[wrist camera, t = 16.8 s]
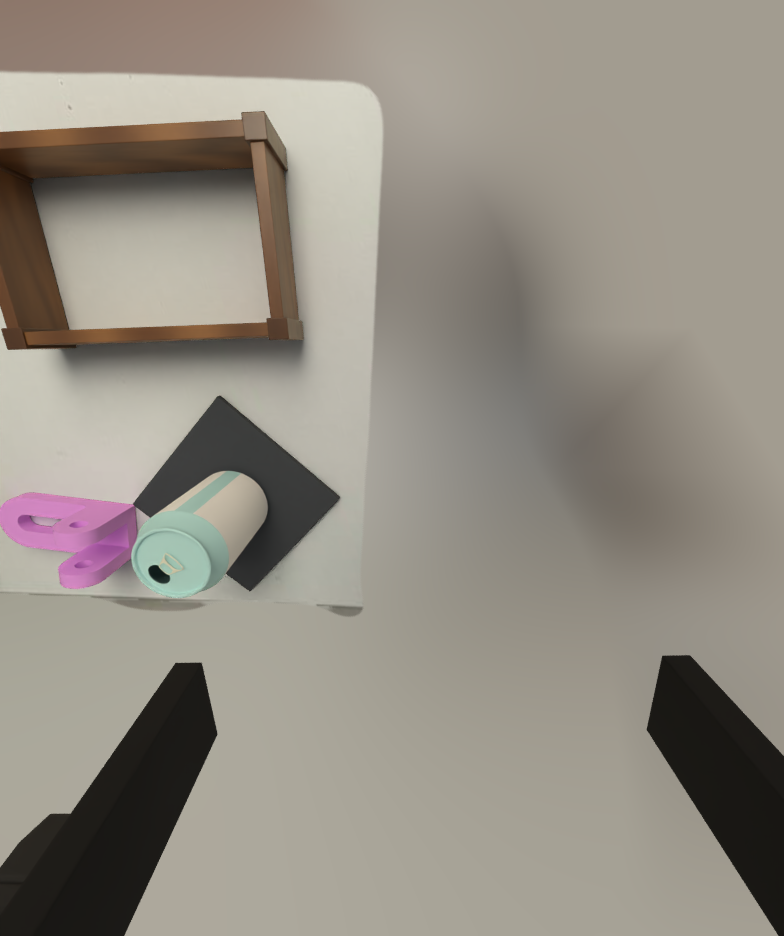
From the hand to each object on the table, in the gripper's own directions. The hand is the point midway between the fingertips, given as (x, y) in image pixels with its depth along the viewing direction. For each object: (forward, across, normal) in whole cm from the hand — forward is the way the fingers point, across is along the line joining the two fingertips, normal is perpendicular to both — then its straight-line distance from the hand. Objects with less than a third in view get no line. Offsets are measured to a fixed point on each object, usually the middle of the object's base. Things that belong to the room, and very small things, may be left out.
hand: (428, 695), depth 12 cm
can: (+28, -18, -5) cm, 34 cm away
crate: (+29, -20, +18) cm, 39 cm away
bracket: (+29, -35, -7) cm, 46 cm away
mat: (+29, -18, -5) cm, 34 cm away
